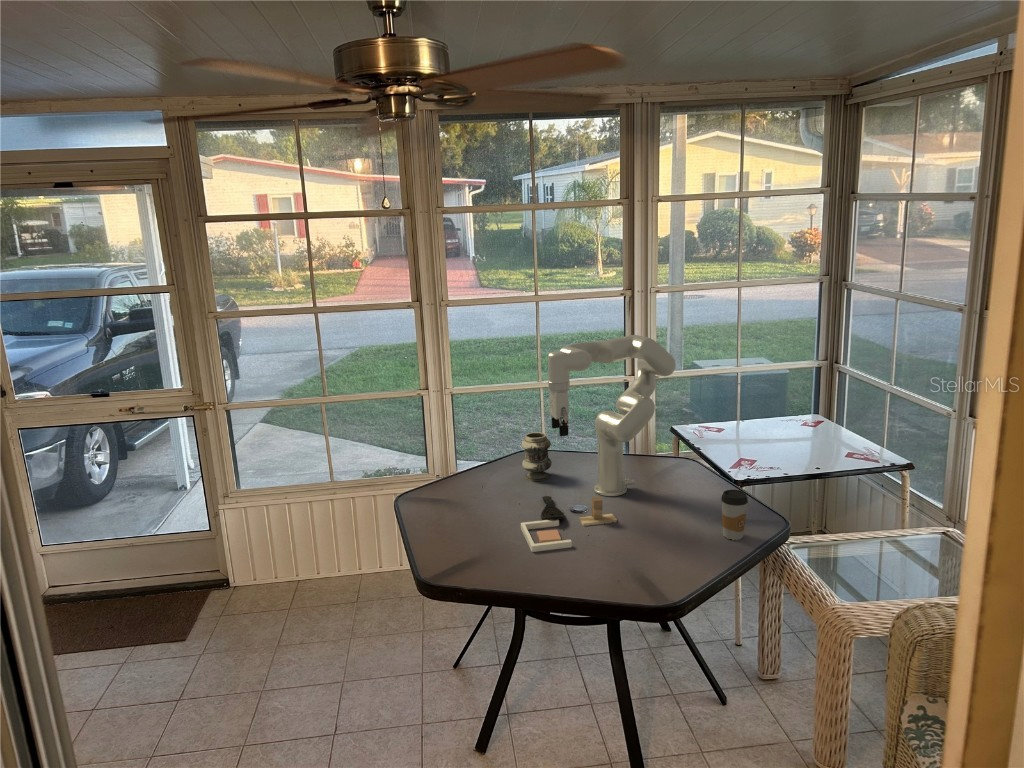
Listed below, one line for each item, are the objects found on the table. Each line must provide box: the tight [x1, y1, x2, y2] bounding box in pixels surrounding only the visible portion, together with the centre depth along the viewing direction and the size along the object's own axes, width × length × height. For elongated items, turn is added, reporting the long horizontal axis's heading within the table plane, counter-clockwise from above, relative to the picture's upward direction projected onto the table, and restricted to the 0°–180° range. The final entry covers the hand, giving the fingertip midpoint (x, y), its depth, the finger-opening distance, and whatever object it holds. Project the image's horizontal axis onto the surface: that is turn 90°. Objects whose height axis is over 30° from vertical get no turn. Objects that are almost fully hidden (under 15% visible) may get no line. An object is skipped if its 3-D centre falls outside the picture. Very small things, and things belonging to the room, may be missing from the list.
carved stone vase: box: [521, 431, 553, 482], centre depth 288 cm, size 12×12×18 cm
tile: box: [536, 529, 562, 543], centre depth 236 cm, size 7×7×2 cm
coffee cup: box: [721, 489, 749, 541], centre depth 230 cm, size 8×8×15 cm
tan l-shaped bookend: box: [579, 496, 618, 527], centre depth 246 cm, size 5×12×8 cm, turn 100°
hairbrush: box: [540, 495, 566, 521], centre depth 256 cm, size 8×4×25 cm
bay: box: [520, 519, 573, 553], centre depth 236 cm, size 13×18×2 cm
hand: (559, 431), depth 256 cm, fingers open, 9 cm apart
